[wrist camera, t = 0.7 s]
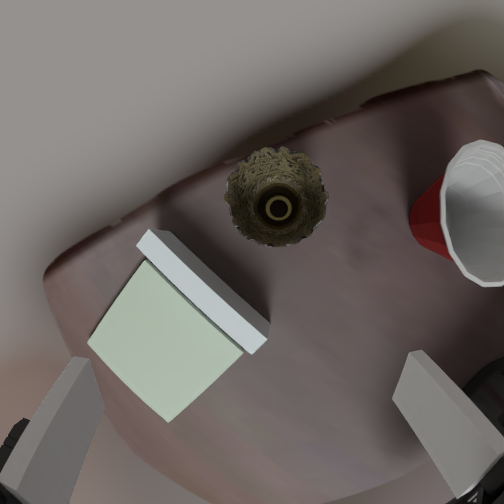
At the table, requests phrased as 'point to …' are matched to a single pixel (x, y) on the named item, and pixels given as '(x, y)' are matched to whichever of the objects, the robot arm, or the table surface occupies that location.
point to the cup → (276, 196)
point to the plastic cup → (466, 213)
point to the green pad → (162, 343)
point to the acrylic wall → (205, 289)
